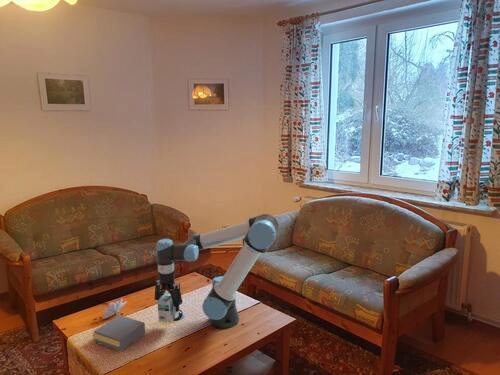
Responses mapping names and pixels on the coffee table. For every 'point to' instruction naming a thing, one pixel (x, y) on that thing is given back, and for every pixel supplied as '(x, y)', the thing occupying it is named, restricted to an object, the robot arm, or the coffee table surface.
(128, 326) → the book
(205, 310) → the robot arm
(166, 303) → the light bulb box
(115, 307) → the water lily
